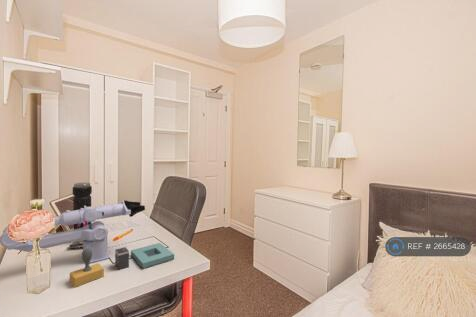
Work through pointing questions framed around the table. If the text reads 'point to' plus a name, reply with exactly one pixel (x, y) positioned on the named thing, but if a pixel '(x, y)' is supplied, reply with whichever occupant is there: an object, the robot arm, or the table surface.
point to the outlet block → (152, 255)
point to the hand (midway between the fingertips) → (142, 206)
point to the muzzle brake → (81, 197)
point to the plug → (122, 258)
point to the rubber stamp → (86, 271)
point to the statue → (80, 243)
